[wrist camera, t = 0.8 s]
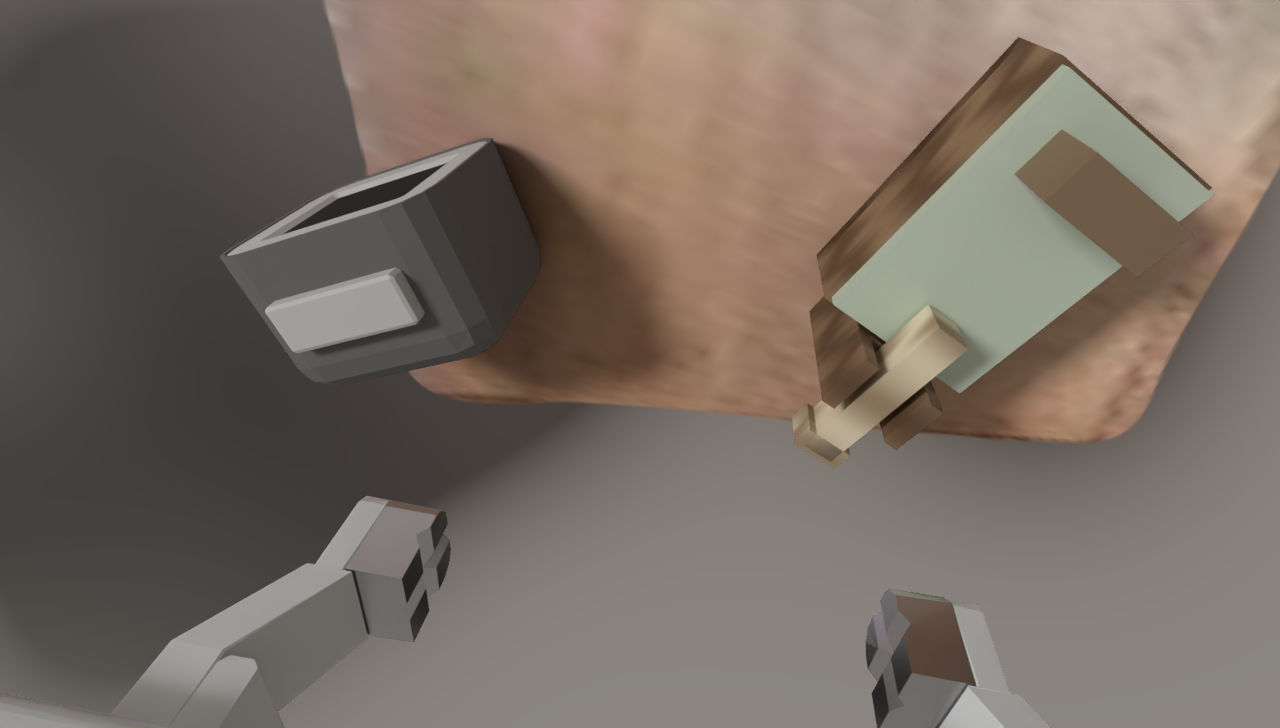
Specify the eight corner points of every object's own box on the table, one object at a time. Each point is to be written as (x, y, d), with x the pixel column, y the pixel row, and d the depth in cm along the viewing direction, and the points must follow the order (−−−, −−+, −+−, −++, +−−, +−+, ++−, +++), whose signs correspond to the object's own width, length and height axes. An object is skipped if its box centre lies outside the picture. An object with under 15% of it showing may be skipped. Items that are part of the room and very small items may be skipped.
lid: (1054, 61, 35) (1109, 84, 30) (1193, 183, 37) (1266, 225, 32) (830, 290, 44) (840, 340, 39) (952, 377, 47) (977, 435, 41)
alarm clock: (503, 131, 48) (410, 205, 35) (560, 268, 53) (499, 375, 40) (325, 190, 52) (186, 274, 40) (395, 310, 58) (293, 418, 45)
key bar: (921, 299, 41) (932, 322, 39) (962, 329, 42) (975, 354, 39) (792, 417, 48) (794, 443, 45) (830, 441, 48) (834, 468, 46)
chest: (1018, 37, 40) (1105, 73, 30) (1149, 152, 42) (1270, 220, 32) (782, 292, 51) (788, 378, 42) (895, 371, 54) (927, 470, 44)
